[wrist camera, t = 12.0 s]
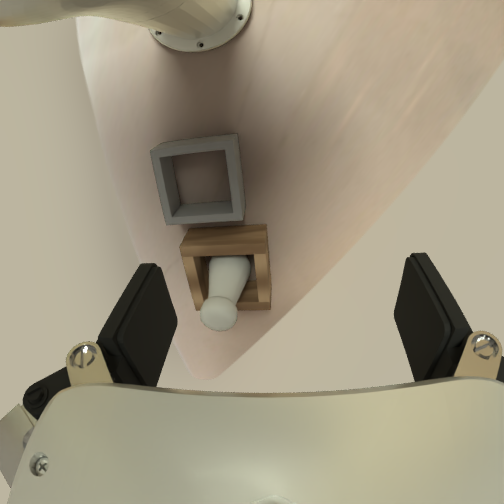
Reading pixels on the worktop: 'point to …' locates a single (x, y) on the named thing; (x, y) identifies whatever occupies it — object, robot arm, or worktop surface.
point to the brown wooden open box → (228, 243)
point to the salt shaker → (224, 290)
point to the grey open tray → (198, 211)
